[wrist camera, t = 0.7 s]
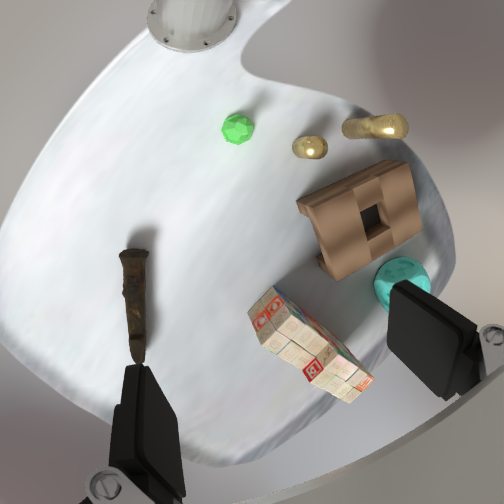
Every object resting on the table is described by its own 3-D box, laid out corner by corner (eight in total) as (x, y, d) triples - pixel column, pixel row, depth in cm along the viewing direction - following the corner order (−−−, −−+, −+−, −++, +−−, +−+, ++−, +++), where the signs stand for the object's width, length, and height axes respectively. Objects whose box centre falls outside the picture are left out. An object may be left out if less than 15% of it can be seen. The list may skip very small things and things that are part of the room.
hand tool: (122, 245, 40) (116, 255, 36) (149, 247, 41) (146, 258, 37) (125, 352, 45) (122, 369, 41) (148, 354, 46) (146, 371, 42)
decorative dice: (407, 284, 55) (432, 300, 48) (377, 304, 55) (401, 324, 47) (401, 251, 52) (429, 266, 45) (369, 272, 52) (396, 290, 44)
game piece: (258, 128, 39) (270, 124, 34) (238, 151, 40) (247, 150, 34) (235, 108, 38) (244, 101, 32) (214, 131, 38) (220, 126, 33)
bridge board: (295, 201, 44) (312, 208, 38) (385, 159, 45) (408, 162, 40) (319, 267, 48) (337, 281, 43) (400, 222, 50) (422, 230, 44)
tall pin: (338, 122, 42) (387, 116, 31) (354, 117, 42) (404, 111, 31) (345, 141, 43) (394, 141, 32) (361, 135, 43) (411, 134, 32)
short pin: (289, 141, 41) (302, 140, 36) (307, 134, 41) (322, 132, 37) (296, 161, 42) (311, 162, 37) (315, 153, 42) (331, 154, 38)
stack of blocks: (245, 312, 48) (266, 358, 37) (272, 284, 47) (301, 324, 36) (321, 364, 56) (350, 405, 45) (343, 343, 56) (376, 380, 44)
